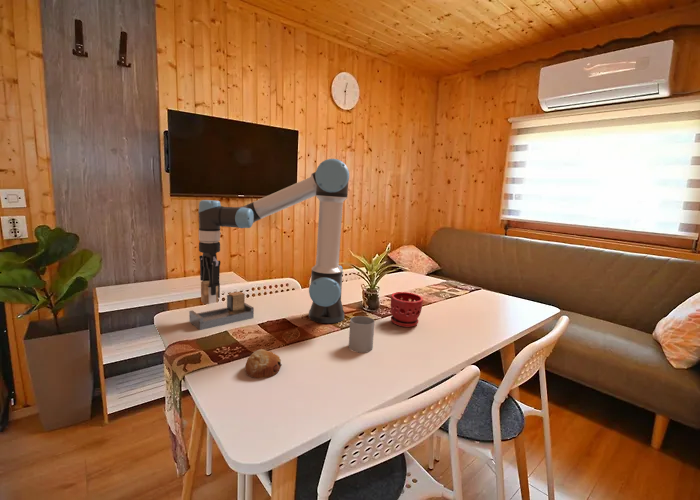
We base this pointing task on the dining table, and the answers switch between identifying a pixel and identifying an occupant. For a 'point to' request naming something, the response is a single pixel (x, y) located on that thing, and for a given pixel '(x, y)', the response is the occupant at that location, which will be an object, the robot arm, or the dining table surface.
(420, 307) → the plant pot
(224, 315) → the grey tray
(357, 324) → the cup
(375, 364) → the dining table surface
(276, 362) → the bread roll
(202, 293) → the block
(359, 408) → the dining table surface
